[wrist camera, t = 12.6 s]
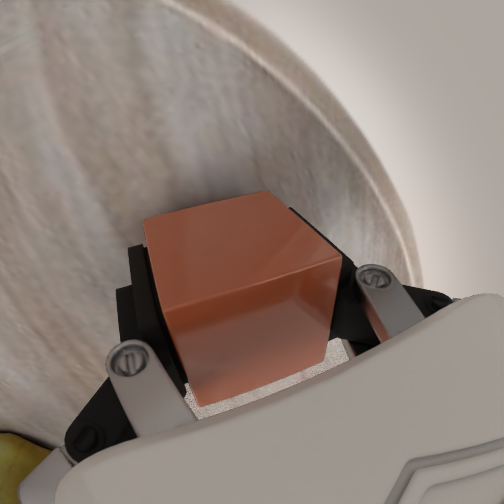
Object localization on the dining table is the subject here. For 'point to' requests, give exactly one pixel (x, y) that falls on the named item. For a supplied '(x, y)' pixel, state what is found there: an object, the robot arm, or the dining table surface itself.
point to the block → (242, 292)
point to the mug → (17, 464)
